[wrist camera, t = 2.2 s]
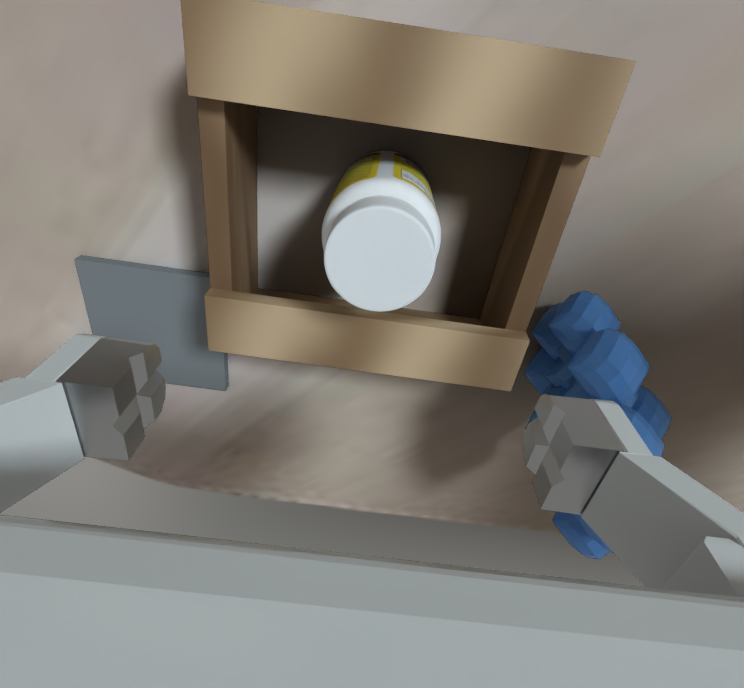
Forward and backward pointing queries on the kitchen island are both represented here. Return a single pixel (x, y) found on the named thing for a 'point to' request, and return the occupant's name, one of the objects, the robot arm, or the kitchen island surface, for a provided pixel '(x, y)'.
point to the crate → (400, 109)
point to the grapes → (594, 383)
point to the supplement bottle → (381, 233)
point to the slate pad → (155, 315)
